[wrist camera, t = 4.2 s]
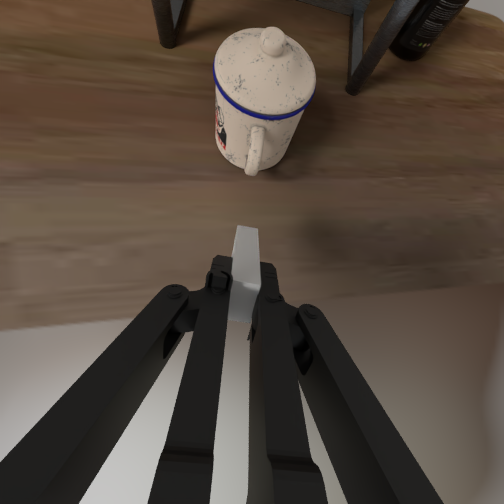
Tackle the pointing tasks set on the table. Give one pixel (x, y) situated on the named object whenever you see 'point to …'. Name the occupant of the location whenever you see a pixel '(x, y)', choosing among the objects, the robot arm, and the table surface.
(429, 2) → the supplement bottle
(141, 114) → the table surface
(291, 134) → the teacup with lid
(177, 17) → the box
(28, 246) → the table surface
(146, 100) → the table surface
